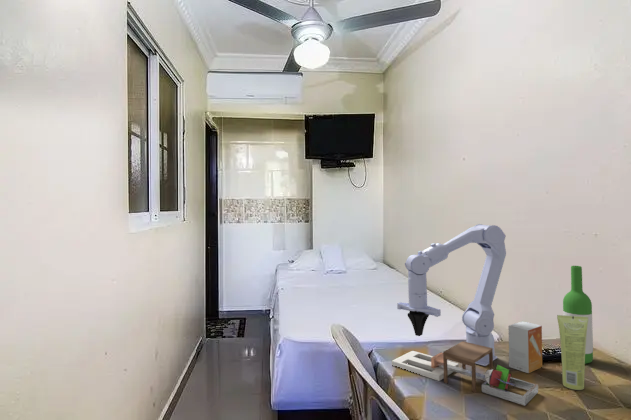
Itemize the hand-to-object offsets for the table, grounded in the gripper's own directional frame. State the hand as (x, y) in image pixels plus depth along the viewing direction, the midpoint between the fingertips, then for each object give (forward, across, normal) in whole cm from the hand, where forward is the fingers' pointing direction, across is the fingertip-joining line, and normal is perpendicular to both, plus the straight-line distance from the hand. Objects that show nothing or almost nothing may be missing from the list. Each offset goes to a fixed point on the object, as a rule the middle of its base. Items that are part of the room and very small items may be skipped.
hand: (418, 334), depth 126 cm
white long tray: (+9, +20, -1) cm, 22 cm away
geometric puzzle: (+10, +26, -2) cm, 27 cm away
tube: (+10, +39, +14) cm, 43 cm away
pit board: (+9, +2, -1) cm, 10 cm away
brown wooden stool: (+9, +17, -1) cm, 19 cm away
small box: (+10, +25, +19) cm, 33 cm away
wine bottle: (+10, +35, +36) cm, 52 cm away
